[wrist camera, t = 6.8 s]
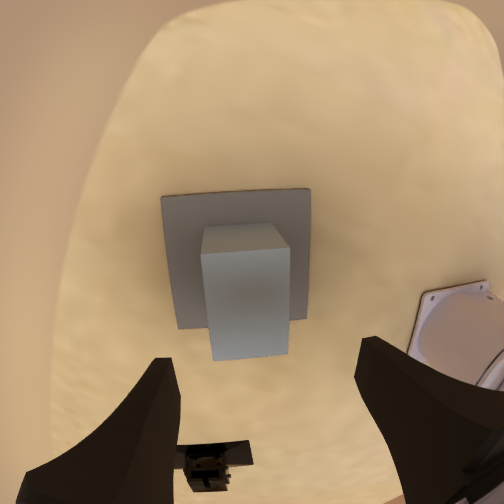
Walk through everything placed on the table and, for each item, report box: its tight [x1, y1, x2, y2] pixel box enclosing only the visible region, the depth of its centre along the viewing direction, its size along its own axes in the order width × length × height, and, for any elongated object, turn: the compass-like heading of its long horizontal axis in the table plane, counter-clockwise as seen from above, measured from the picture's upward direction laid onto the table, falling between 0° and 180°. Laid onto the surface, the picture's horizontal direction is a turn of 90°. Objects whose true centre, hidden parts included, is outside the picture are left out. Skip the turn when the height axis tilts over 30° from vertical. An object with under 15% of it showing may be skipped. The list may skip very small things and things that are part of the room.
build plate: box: [174, 440, 254, 492], centre depth 25 cm, size 12×7×5 cm, turn 94°
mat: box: [161, 188, 311, 329], centre depth 19 cm, size 9×9×1 cm
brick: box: [201, 222, 290, 361], centre depth 17 cm, size 4×6×5 cm, turn 2°
